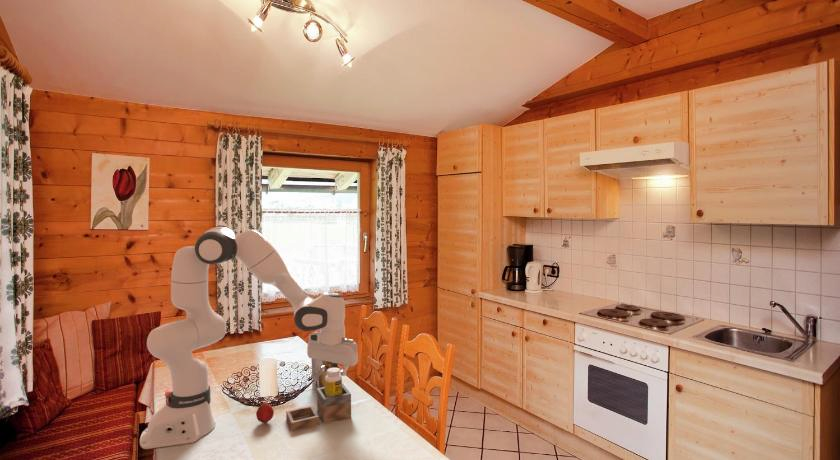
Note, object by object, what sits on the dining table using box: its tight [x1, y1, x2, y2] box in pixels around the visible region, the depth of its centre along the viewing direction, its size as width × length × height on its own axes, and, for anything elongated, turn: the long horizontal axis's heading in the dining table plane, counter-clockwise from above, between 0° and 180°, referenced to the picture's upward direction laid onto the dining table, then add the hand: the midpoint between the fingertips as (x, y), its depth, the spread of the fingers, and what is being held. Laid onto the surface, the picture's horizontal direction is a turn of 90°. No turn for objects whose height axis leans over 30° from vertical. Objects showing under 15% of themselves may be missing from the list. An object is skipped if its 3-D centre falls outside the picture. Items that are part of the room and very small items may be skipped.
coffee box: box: [310, 358, 339, 391], centre depth 187 cm, size 9×6×16 cm
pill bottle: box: [325, 367, 343, 398], centre depth 163 cm, size 6×6×11 cm
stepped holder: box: [285, 382, 352, 432], centre depth 161 cm, size 21×10×9 cm, turn 117°
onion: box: [255, 401, 275, 424], centre depth 157 cm, size 6×6×8 cm
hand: (332, 373), depth 163 cm, fingers open, 8 cm apart
